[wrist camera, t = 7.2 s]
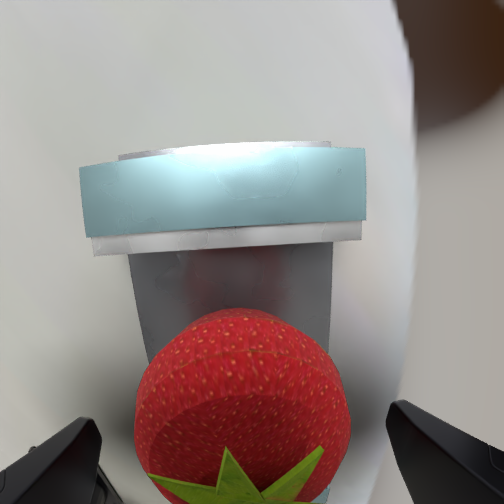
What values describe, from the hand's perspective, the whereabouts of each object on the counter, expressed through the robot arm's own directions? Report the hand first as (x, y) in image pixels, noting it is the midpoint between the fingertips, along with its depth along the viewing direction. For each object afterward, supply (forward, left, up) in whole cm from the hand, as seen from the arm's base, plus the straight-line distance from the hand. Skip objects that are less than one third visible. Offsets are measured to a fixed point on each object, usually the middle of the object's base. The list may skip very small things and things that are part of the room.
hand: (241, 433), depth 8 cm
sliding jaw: (+6, 0, -5) cm, 8 cm away
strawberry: (0, 0, -6) cm, 6 cm away
